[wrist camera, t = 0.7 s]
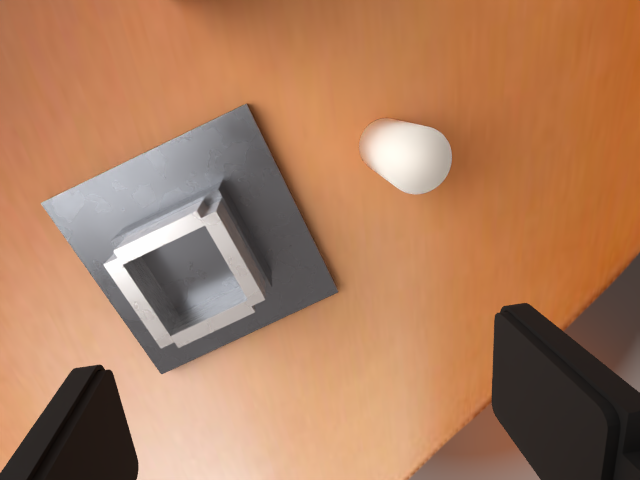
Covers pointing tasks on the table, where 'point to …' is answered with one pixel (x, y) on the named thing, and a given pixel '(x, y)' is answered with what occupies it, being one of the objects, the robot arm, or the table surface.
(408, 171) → the white cylinder
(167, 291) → the bracket
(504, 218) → the table surface
